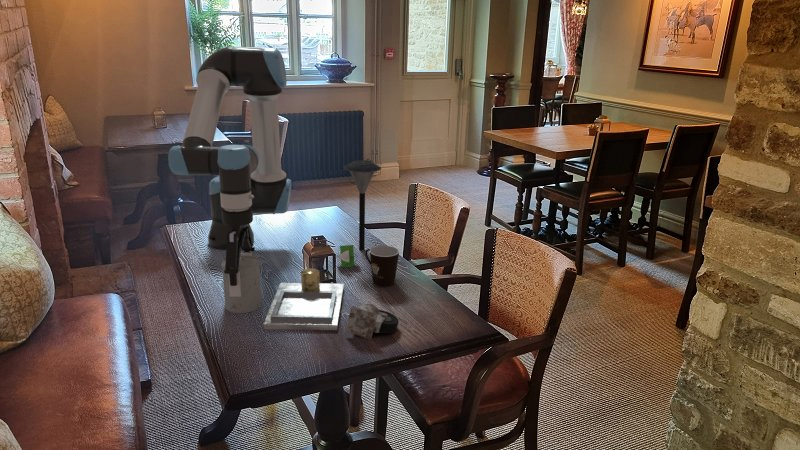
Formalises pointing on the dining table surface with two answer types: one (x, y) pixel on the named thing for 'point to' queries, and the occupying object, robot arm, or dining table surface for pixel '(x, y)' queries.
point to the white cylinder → (244, 286)
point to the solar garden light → (362, 190)
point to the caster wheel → (370, 321)
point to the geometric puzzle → (347, 256)
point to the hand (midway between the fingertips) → (241, 285)
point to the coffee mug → (383, 265)
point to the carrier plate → (306, 304)
